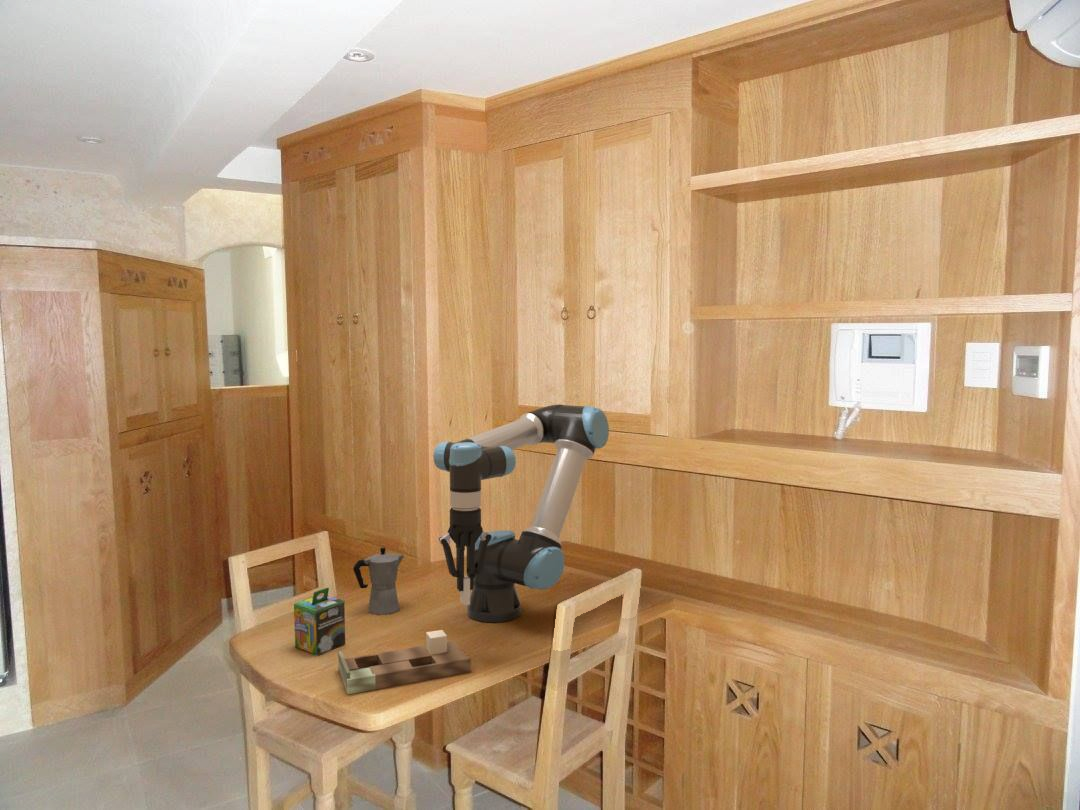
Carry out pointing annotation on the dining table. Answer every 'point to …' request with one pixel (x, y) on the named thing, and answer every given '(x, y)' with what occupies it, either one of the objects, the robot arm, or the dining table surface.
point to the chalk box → (319, 623)
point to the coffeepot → (381, 581)
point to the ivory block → (436, 642)
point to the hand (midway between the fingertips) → (465, 603)
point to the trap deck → (400, 667)
